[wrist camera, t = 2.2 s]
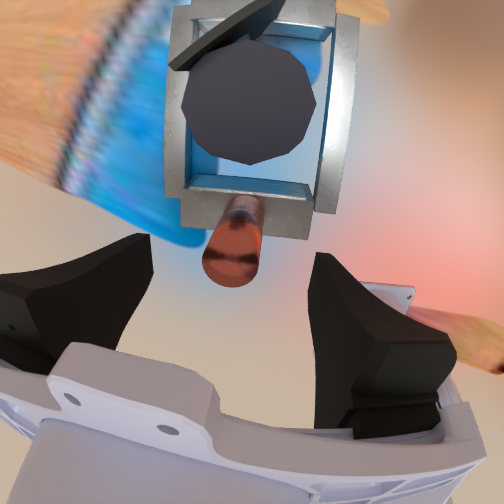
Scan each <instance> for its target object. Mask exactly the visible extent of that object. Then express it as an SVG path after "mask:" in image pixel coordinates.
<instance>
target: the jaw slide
mask: <svg viewBox="0 0 504 504" xmlns="http://www.w3.org/2000/svg"><path fill="white" fill-rule="evenodd" d="M313 208H314V199H313V196H312V194H311V191H310V188H309V185H308V184H303V183H295V182H286V181H277V180H269V179H260V178H249V177H238V176H226V175H213V174H196V175H195V176H194V177H193V178H192V179H191V180H189V181H188V182H187V183H186V184H185V185H184V186H183V187H182V188H181V189H180V211H181V227H189V228H199V229H210V230H214V232H213V234H212V237H211V238H210V240H209V243H208V245H207V247H206V249H205V251H204V253H203V257H202V264H203V268H204V271H205V273H206V274H207V275H208V277H209V278H210V279H211V280H212V281H214V282H215V283H217V284H219V285H222V286H225V287H240V286H243V285H246V284H248V283H249V282H250V281H251V280H252V279H253V278H254V277H255V276H256V274H257V271H258V265H259V257H260V250H261V242H262V235H267V236H276V237H285V238H293V239H302V240H308V236H309V231H310V226H311V220H312V214H313Z"/></svg>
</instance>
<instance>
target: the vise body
mask: <svg viewBox="0 0 504 504" xmlns="http://www.w3.org/2000/svg"><path fill="white" fill-rule="evenodd" d="M253 1H255V0H191V5H182V6H174V10H173V17H172V26H171V34H170V44H169V55H168V64H169V63H170V62H171V61H172V60H173V59H174V58H175V57H177V56H178V55H179V54H180V53H181V52H183V51H184V50H185V49H186V48H188V47H189V46H190V45H191V44H193V43H194V42H195V41H196V40H198V35H199V28H200V29H201V30H202V31H203V32H204V33H207V32H208V31H210V30H211V29H212V28H214V27H215V26H216V25H218V24H219V23H221V22H222V21H224V20H225V19H226V18H228V17H229V16H231V15H232V14H234V13H235V12H237V11H239V10H240V9H242V8H243V7H245V6H246V5H248V4H250V3H251V2H253ZM359 22H360V18H357V17H353V16H349V15H344V14H339V13H337V14H336V0H286V2H285V4H284V6H283V8H282V9H281V11H280V13H279V15H278V17H277V18H276V19H275V20H274V21H272V22H271V23H270V24H269V26H268V27H267V28H266V29H265V31H264V32H263V33H262V35H274V36H285V37H294V38H302V39H309V40H316V41H322V42H324V41H325V40H326V39H327V37H328V36H329V35H330V33H331V32H332V41H331V42H332V43H331V55H330V66H329V76H328V87H327V97H326V106H325V114H324V122H323V131H322V138H321V146H320V153H319V161H318V168H317V175H316V182H315V189H314V195H313V199H314V208H313V210H314V211H315V212H320V213H328V214H335V213H336V208H337V203H338V197H339V191H340V186H341V180H342V174H343V169H344V163H345V156H346V150H347V143H348V136H349V129H350V120H351V114H352V106H353V97H354V88H355V78H356V67H357V54H358V40H359V39H358V38H359ZM189 74H190V71H173V70H172V69H171V68H170V67H169V66H168V67H167V82H166V100H165V131H164V183H165V197H167V198H180V189H181V188H182V187H183V186H184V185H185V184H186V183H187V182H188V181H189V180H191V141H192V133H191V130H190V128H189V126H188V123H187V121H186V119H185V116H184V114H183V112H182V110H181V104H182V100H183V96H184V92H185V88H186V85H187V81H188V77H189Z"/></svg>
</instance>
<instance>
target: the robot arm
mask: <svg viewBox="0 0 504 504" xmlns="http://www.w3.org/2000/svg"><path fill="white" fill-rule="evenodd" d="M153 274H154V271H153V263H152V253H151V243H150V234H143V233H136V234H132V235H130V236H127V237H125V238H123V239H121V240H118V241H116V242H114V243H112V244H110V245H108V246H105V247H103V248H101V249H99V250H97V251H94V252H92V253H90V254H87V255H85V256H83V257H80V258H77V259H75V260H72V261H69V262H66V263H63V264H59V265H55V266H52V267H48V268H44V269H39V270H34V271H28V272H21V273H10V274H1V275H0V419H1V420H2V421H4V422H5V423H6V424H8V425H9V426H10V427H11V428H13V429H14V430H16V431H17V432H18V433H20V434H21V435H23V436H24V437H25V438H27V439H28V440H30V441H32V444H31V447H30V449H29V451H28V453H27V455H26V457H25V459H24V462H23V464H22V466H21V469H20V471H19V473H18V475H17V478H16V480H15V483H14V485H13V488H12V490H11V493H10V495H9V498H8V501H7V503H6V504H453V502H452V498H451V495H452V494H453V493H454V491H455V490H456V489H457V488H458V486H459V485H460V484H461V482H462V481H463V480H464V478H465V477H466V476H467V474H468V473H469V471H470V470H471V469H473V468H474V467H476V466H477V465H478V464H480V463H481V462H483V461H484V460H485V459H486V458H487V454H486V450H485V447H484V444H483V441H482V438H481V435H480V432H479V429H478V426H477V423H476V420H475V418H474V415H473V412H472V409H471V407H470V404H469V402H463V401H462V399H461V397H460V394H459V392H458V390H457V388H456V385H455V383H454V381H453V379H452V377H451V375H450V373H451V371H452V369H453V367H454V366H455V363H456V360H457V352H456V350H455V348H454V346H453V344H452V342H451V340H450V338H449V336H448V334H447V333H444V332H442V331H439V330H436V329H434V328H431V327H429V326H426V325H424V324H422V323H419V322H417V321H415V320H413V319H411V318H409V317H407V316H406V313H407V311H408V308H409V306H410V304H411V301H412V299H413V297H414V295H415V292H416V290H415V288H414V287H413V286H405V285H394V284H383V283H372V282H371V283H370V282H361V281H357V280H356V279H355V278H354V277H353V276H352V275H351V274H350V273H349V272H348V271H347V270H346V269H345V268H344V267H343V265H342V264H341V263H340V262H339V261H338V260H337V259H336V258H335V257H334V256H333V255H331V254H330V253H321V252H316V256H315V261H314V266H313V270H312V275H311V279H310V283H309V288H308V314H309V320H310V327H311V333H312V339H313V346H314V351H313V356H314V357H315V369H316V393H315V396H316V398H315V419H314V429H299V428H298V429H297V428H278V427H271V426H266V425H263V424H258V423H255V422H251V421H247V420H244V419H240V418H237V417H233V416H230V415H226V414H223V413H221V411H220V397H219V395H218V393H217V391H216V389H215V387H214V385H213V384H212V383H211V382H209V381H208V380H206V379H205V378H204V377H202V376H201V375H199V374H198V373H197V372H195V371H192V370H190V369H187V368H184V367H181V366H178V365H175V364H170V363H165V362H160V361H156V360H151V359H147V358H142V357H138V356H134V355H130V354H126V353H122V352H118V351H115V349H116V347H117V345H118V342H119V340H120V337H121V335H122V332H123V330H124V329H125V327H126V325H127V323H128V321H129V320H130V318H131V316H132V314H133V313H134V311H135V310H136V308H137V306H138V305H139V303H140V301H141V299H142V298H143V296H144V294H145V293H146V291H147V288H148V286H149V284H150V281H151V279H152V276H153ZM408 295H410V296H409V297H407V296H408Z"/></svg>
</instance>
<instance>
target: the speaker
mask: <svg viewBox="0 0 504 504" xmlns="http://www.w3.org/2000/svg"><path fill="white" fill-rule="evenodd" d="M285 2H286V0H255V1H253V2H251V3H250V4H248V5H246V6H245V7H243V8H242V9H240V10H239V11H237V12H235V13H234V14H232V15H231V16H229V17H228V18H226V19H225V20H224V21H222V22H221V23H219V24H218V25H216V26H215V27H214V28H212V29H211V30H210V31H208V32H207V33H205V34H204V35H203V36H202V37H200V38H199V39H198V40H196V41H195V42H194V43H193V44H191V45H190V46H189V47H188V48H186V49H185V50H184V51H183V52H181V53H180V54H179V55H178V56H177V57H175V58H174V59H173V60H172V61H171V62H170V63H169V64H168V66H169V67H170V68H171V69H172V70H173V71H190V74H189V77H188V81H187V85H186V88H185V92H184V96H183V100H182V104H181V110H182V112H183V114H184V116H185V119H186V121H187V123H188V126H189V128H190V130H191V133H192V135H193V137H194V139H195V142H196V143H197V144H198V145H199V146H200V147H202V148H203V149H204V150H205V151H207V152H208V153H209V154H210V155H212V156H216V157H220V158H224V159H228V160H232V161H236V162H239V163H243V164H247V165H253V164H256V163H259V162H262V161H265V160H268V159H272V158H275V157H278V156H281V155H285V154H288V153H289V152H290V151H291V150H292V149H294V148H295V147H296V146H297V145H298V144H299V143H300V142H301V141H302V140H303V138H304V136H305V133H306V130H307V128H308V125H309V123H310V120H311V117H312V115H313V112H314V109H315V107H316V101H315V98H314V94H313V91H312V88H311V85H310V82H309V79H308V76H307V73H306V70H305V67H304V65H303V64H302V63H301V62H299V61H298V60H297V59H296V58H295V57H294V56H293V55H292V54H291V53H290V52H289V51H286V50H283V49H279V48H276V47H273V46H270V45H266V44H263V43H259V42H255V41H253V40H255V39H256V38H258V37H259V36H261V35H262V33H263V32H264V31H265V29H266V28H267V27H268V26H269V24H270V23H271V22H272V21H274V20H275V19H276V18H277V17H278V15H279V13H280V11H281V9H282V8H283V6H284V4H285Z"/></svg>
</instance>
